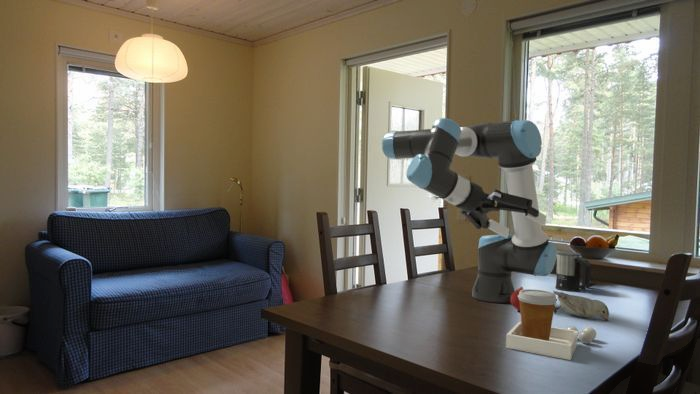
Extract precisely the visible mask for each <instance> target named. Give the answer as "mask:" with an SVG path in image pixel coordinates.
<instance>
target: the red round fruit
mask: <svg viewBox="0 0 700 394" xmlns="http://www.w3.org/2000/svg"><path fill="white" fill-rule="evenodd" d="M520 290H524V287H523V286H519V287H518V288H517V289H516V290H515V291H514V292H513V294H512V295H511V302H510V303H511V305H512V307H513V308H514V309H515V310H517V311H518V312H520V302H519V298H518V295H519V292H520Z"/></svg>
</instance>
